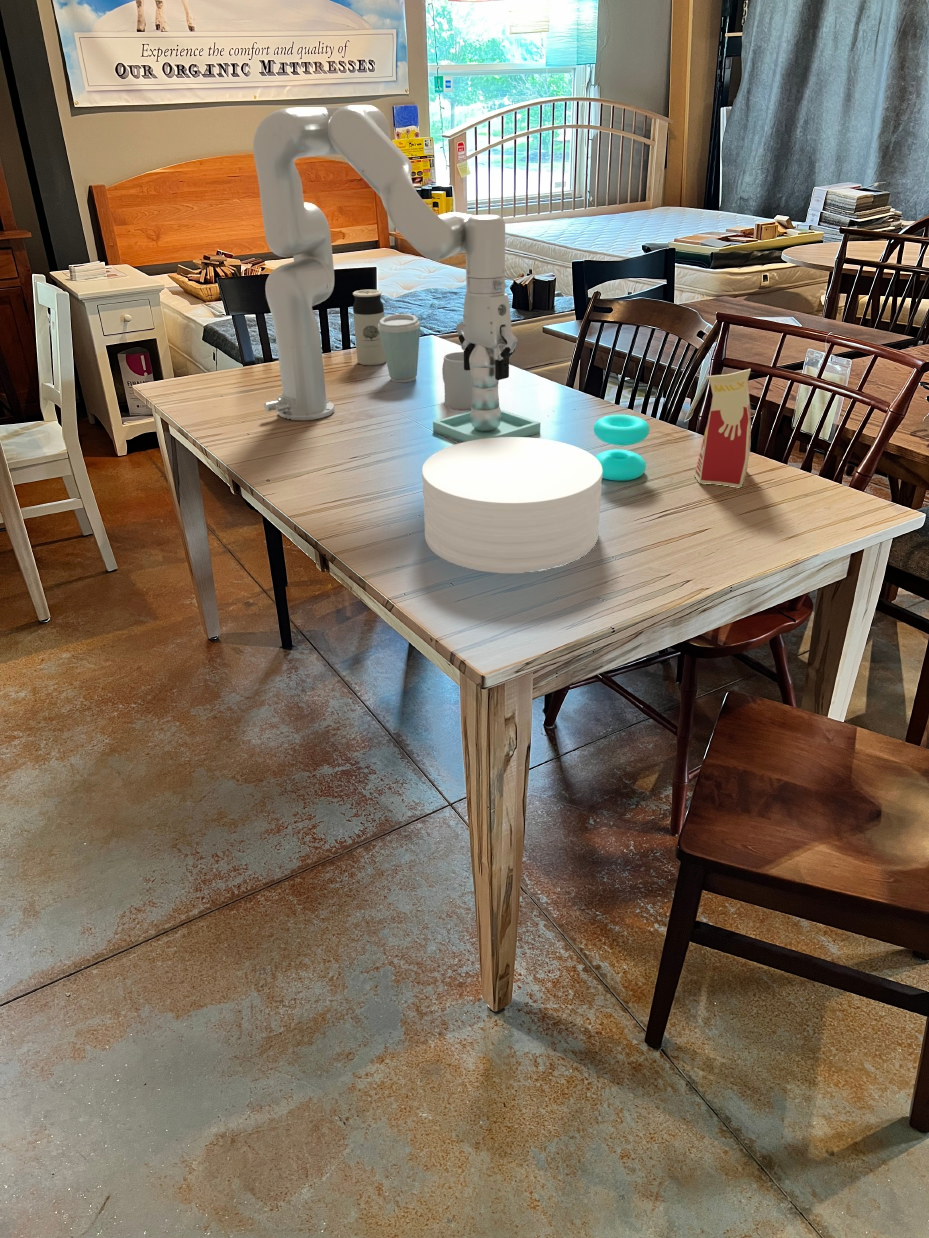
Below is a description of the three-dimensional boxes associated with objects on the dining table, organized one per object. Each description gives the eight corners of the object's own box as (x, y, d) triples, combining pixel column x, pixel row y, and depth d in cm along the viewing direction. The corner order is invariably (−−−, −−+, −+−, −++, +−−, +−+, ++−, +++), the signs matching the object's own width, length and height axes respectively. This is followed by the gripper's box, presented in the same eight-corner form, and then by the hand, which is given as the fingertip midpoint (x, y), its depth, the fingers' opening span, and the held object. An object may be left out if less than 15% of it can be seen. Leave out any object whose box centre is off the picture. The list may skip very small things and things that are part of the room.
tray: (482, 451, 173) (482, 440, 172) (433, 431, 184) (432, 421, 183) (540, 433, 182) (540, 422, 181) (489, 415, 193) (489, 405, 191)
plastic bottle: (507, 428, 183) (508, 331, 172) (486, 436, 179) (485, 337, 168) (485, 422, 187) (484, 326, 176) (463, 430, 182) (461, 332, 172)
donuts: (629, 409, 162) (661, 424, 155) (625, 460, 168) (656, 477, 160) (583, 417, 159) (614, 433, 151) (581, 469, 164) (610, 487, 156)
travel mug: (360, 358, 237) (355, 289, 228) (389, 358, 236) (385, 289, 227) (354, 366, 230) (348, 295, 221) (384, 366, 230) (379, 295, 220)
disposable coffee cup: (422, 385, 214) (419, 322, 206) (378, 385, 214) (374, 323, 207) (424, 373, 223) (421, 312, 215) (382, 374, 223) (378, 313, 216)
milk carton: (746, 471, 162) (763, 363, 151) (743, 489, 154) (761, 377, 144) (696, 466, 164) (710, 359, 154) (691, 484, 157) (705, 373, 146)
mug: (489, 405, 199) (488, 357, 193) (458, 412, 195) (457, 363, 189) (459, 393, 207) (458, 347, 202) (429, 400, 203) (427, 352, 198)
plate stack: (466, 589, 125) (465, 516, 119) (400, 517, 147) (396, 452, 141) (632, 551, 134) (638, 482, 128) (546, 489, 156) (548, 427, 150)
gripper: (530, 288, 164) (528, 379, 173) (471, 277, 175) (472, 362, 184) (501, 294, 160) (500, 386, 169) (442, 282, 171) (445, 369, 180)
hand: (486, 374), depth 177 cm, fingers open, 9 cm apart
